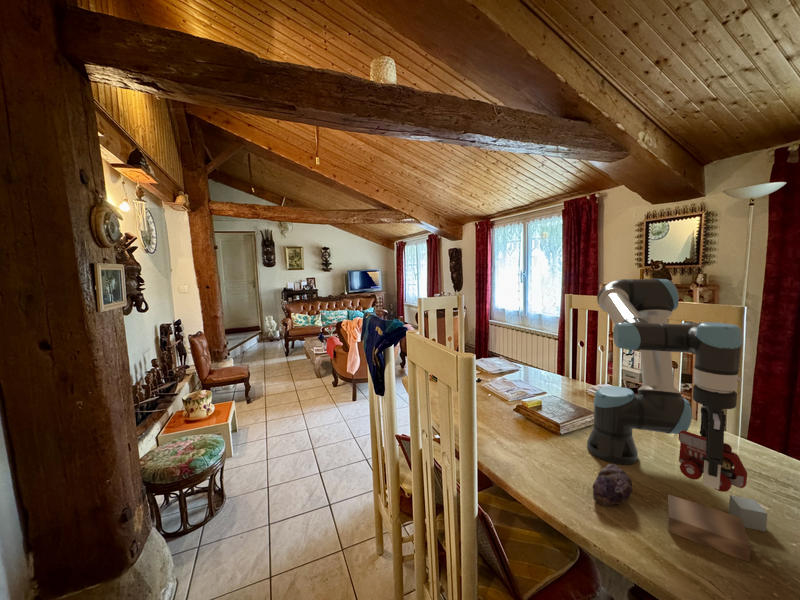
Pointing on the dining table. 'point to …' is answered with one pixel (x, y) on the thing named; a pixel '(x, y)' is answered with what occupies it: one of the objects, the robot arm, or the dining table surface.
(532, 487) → the dining table surface
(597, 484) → the rock
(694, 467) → the toy fire truck
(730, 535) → the pedestal
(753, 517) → the grey cube
